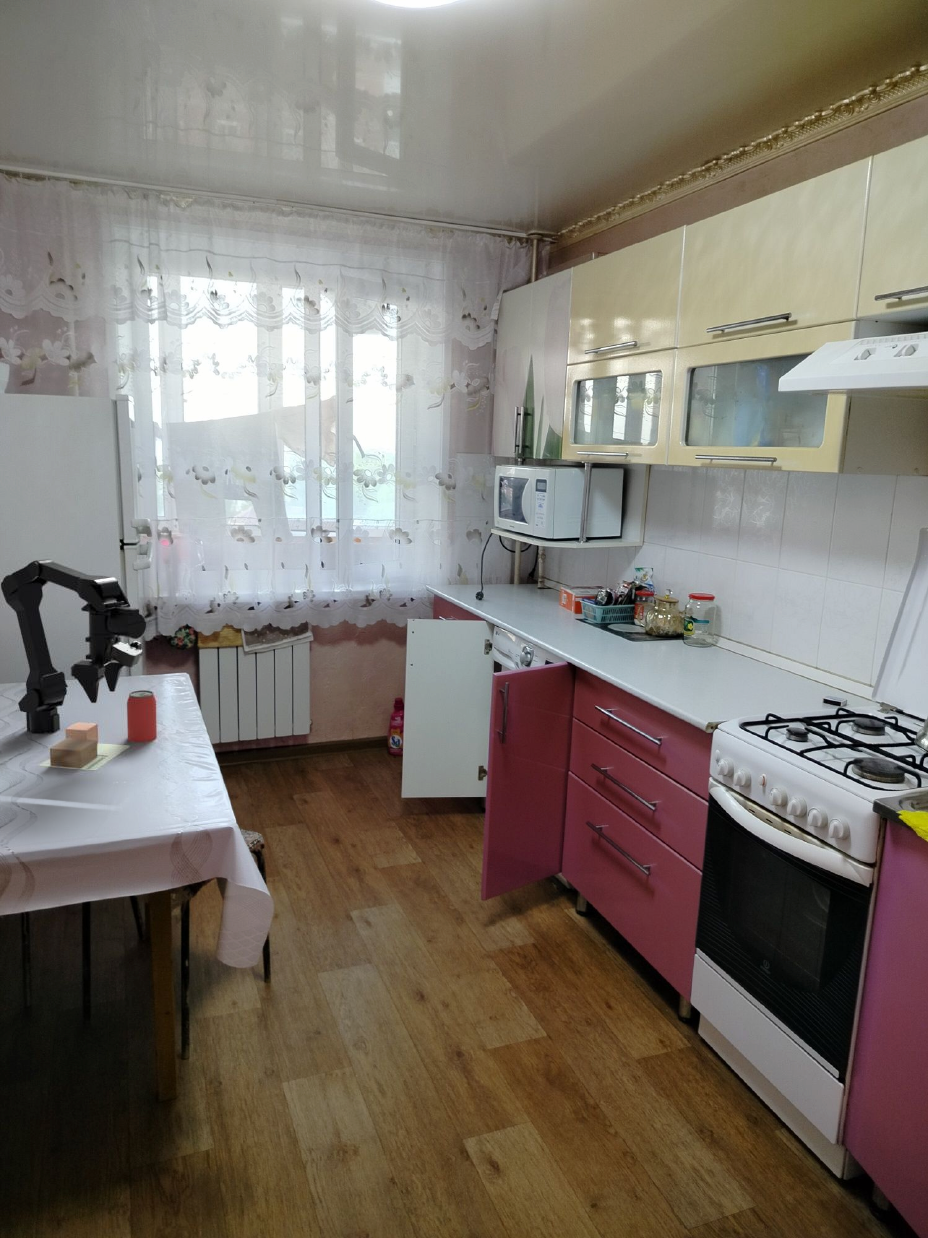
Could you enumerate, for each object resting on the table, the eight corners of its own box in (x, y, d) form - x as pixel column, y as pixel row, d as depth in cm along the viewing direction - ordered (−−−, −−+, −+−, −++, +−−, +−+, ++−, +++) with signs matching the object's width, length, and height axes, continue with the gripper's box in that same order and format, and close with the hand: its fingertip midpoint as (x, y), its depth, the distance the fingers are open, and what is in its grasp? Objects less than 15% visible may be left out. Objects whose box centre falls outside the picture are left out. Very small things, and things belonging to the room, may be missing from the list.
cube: (66, 749, 195) (65, 728, 194) (77, 742, 200) (77, 722, 199) (87, 751, 195) (86, 730, 194) (98, 744, 200) (97, 723, 199)
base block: (50, 765, 185) (49, 748, 185) (67, 754, 192) (67, 738, 191) (81, 768, 185) (80, 750, 184) (97, 757, 192) (97, 740, 191)
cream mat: (38, 769, 185) (38, 765, 185) (77, 744, 201) (76, 741, 201) (95, 773, 184) (95, 770, 184) (130, 749, 200) (130, 745, 200)
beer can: (147, 746, 202) (146, 698, 200) (122, 743, 203) (120, 695, 201) (162, 738, 208) (161, 691, 206) (137, 735, 210) (136, 688, 207)
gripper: (118, 644, 185) (119, 712, 189) (153, 626, 204) (153, 688, 207) (68, 639, 186) (70, 707, 189) (108, 622, 204) (108, 685, 207)
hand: (103, 697), depth 198 cm, fingers open, 9 cm apart
